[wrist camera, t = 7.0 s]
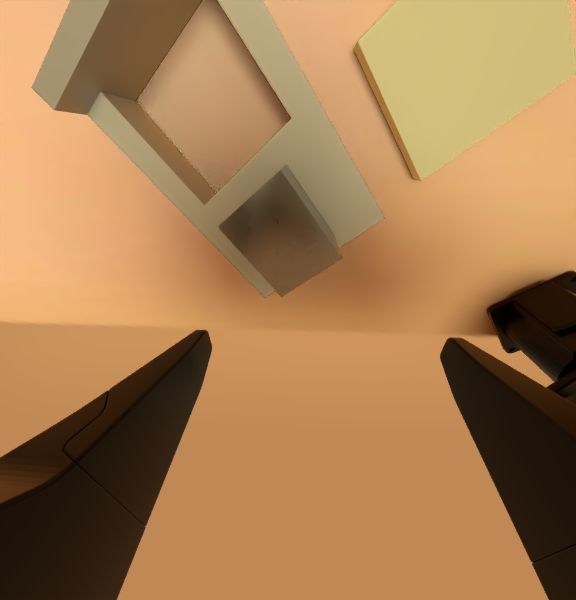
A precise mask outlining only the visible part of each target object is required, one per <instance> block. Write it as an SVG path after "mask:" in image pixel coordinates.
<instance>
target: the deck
mask: <svg viewBox="0 0 576 600" xmlns="http://www.w3.org/2000/svg"><path fill="white" fill-rule="evenodd" d="M201 1H202V0H70V2H69V5H68V7H67V9H66V11H65V14H64V16H63V18H62V21H61V23H60V25H59V27H58V30H57V32H56V34H55V36H54V39H53V41H52V43H51V45H50V48H49V50H48V52H47V54H46V57H45V59H44V61H43V63H42V66H41V68H40V70H39V72H38V75H37V77H36V79H35V81H34V84H33V86H32V89H33V90H34V91H35V92H36V93H37V94H38V95H39V96H40V97H41V98H42V99H43V100H44V101H45V102H46V103H47V104H48V105H49V106H50V107H51V108H52V109H53V110H57V111H64V112H71V113H78V114H85V115H88V116H89V117H90V118H91V119H92V120H93V121H94V122H95V123H96V124H97V126H98V127H99V128H100V129H101V130H102V131H103V132H104V133H105V134H106V135H107V136H108V137H109V138H110V139H111V140H112V141H113V142H114V143H115V144H116V145H117V146H118V147H119V148H120V149H121V150H122V151H123V152H124V153H125V154H126V155H127V156H128V157H129V158H130V159H131V161H132V162H133V163H134V164H135V165H136V166H137V167H138V168H139V169H140V170H141V171H142V172H143V173H144V174H145V175H146V176H147V177H148V178H149V179H150V180H151V181H152V182H153V183H154V184H155V185H156V186H157V187H158V188H159V189H160V190H161V191H162V192H163V193H164V195H165V196H166V197H167V198H168V199H169V200H170V201H171V202H172V203H173V204H174V205H175V206H176V207H177V208H178V209H179V210H180V211H181V212H182V213H183V214H184V215H185V216H186V217H187V218H188V219H189V220H190V221H191V222H192V223H193V224H194V225H195V226H196V227H197V229H198V230H199V231H200V232H201V233H202V234H203V235H204V236H205V237H206V238H207V239H208V240H209V241H210V242H211V243H212V244H213V245H214V246H215V247H216V248H217V249H218V250H219V251H220V252H221V253H222V254H223V255H224V256H225V257H226V258H227V259H228V260H229V261H230V262H231V264H232V265H233V266H234V267H235V268H236V269H237V270H238V271H239V272H240V273H241V274H242V275H243V276H244V277H245V278H246V279H247V280H248V281H249V282H250V283H251V284H252V285H253V286H254V287H255V288H256V289H257V290H258V291H259V292H260V293H261V294H262V295H263V296H264V298H266V297H267V296H269V295H270V294H272V293H273V292H275V291H276V290H275V289H274V288H273V287H272V286H271V285H270V284H269V283H268V282H267V281H266V280H265V278H264V277H263V276H262V275H261V274H260V273H259V272H258V271H257V270H256V269H255V268H254V266H253V265H252V264H251V263H250V262H249V261H248V260H247V259H246V258H245V257H244V256H243V254H242V253H241V252H240V251H239V250H238V249H237V248H236V247H235V246H234V245H233V244H232V242H231V241H230V240H229V239H228V238H227V237H226V236H225V235H224V234H223V233H222V232H221V230H220V229H219V228H218V226H219V225H220V224H221V223H222V222H223V221H224V220H225V219H227V218H228V217H229V216H230V215H231V214H232V213H233V212H234V211H235V210H236V209H237V208H238V207H240V206H241V205H242V204H243V203H244V202H245V201H246V200H247V199H248V198H249V197H251V196H252V195H253V194H254V193H255V192H256V191H257V190H258V189H259V188H261V187H262V186H263V185H264V184H265V183H266V182H267V181H268V180H269V179H271V178H272V177H273V176H274V175H275V174H276V173H277V172H278V171H279V170H280V169H282V168H283V167H284V166H285V165H286V164H287V165H288V167H289V168H290V170H291V171H292V173H293V174H294V176H295V177H296V179H297V180H298V181H299V183H300V184H301V186H302V187H303V189H304V190H305V192H306V193H307V195H308V196H309V198H310V199H311V201H312V202H313V204H314V205H315V206H316V208H317V209H318V211H319V212H320V214H321V215H322V217H323V218H324V220H325V221H326V223H327V224H328V226H329V227H330V229H331V230H332V231H333V233H334V235H335V238H336V241H337V244H338V247H339V248H340V247H342V246H343V245H345V244H346V243H348V242H349V241H351V240H352V239H354V238H355V237H357V236H358V235H360V234H361V233H363V232H364V231H366V230H367V229H369V228H370V227H372V226H373V225H375V224H376V223H378V222H379V221H381V220H382V219H384V218H385V217H384V215H383V214H382V212H381V210H380V208H379V206H378V205H377V203H376V201H375V199H374V198H373V196H372V194H371V192H370V190H369V189H368V187H367V185H366V183H365V182H364V180H363V178H362V176H361V174H360V173H359V171H358V169H357V167H356V166H355V164H354V162H353V160H352V158H351V157H350V155H349V153H348V151H347V150H346V148H345V146H344V144H343V142H342V141H341V139H340V137H339V135H338V134H337V132H336V130H335V128H334V126H333V125H332V123H331V121H330V119H329V118H328V116H327V114H326V112H325V110H324V109H323V107H322V105H321V103H320V102H319V100H318V98H317V96H316V94H315V93H314V91H313V89H312V87H311V86H310V84H309V82H308V80H307V78H306V77H305V75H304V73H303V71H302V70H301V68H300V66H299V64H298V62H297V61H296V59H295V57H294V55H293V54H292V52H291V50H290V48H289V46H288V45H287V43H286V41H285V39H284V38H283V36H282V34H281V32H280V30H279V29H278V27H277V25H276V23H275V22H274V20H273V18H272V16H271V14H270V13H269V11H268V9H267V7H266V6H265V4H264V2H263V0H217V1H218V3H219V4H220V6H221V8H222V9H223V11H224V12H225V14H226V16H227V17H228V19H229V20H230V22H231V24H232V25H233V27H234V28H235V30H236V32H237V33H238V35H239V36H240V38H241V39H242V41H243V43H244V44H245V46H246V47H247V49H248V51H249V52H250V54H251V55H252V57H253V59H254V60H255V62H256V63H257V65H258V67H259V68H260V70H261V71H262V73H263V75H264V76H265V78H266V79H267V81H268V83H269V84H270V86H271V87H272V89H273V90H274V92H275V94H276V95H277V97H278V98H279V100H280V102H281V103H282V105H283V106H284V108H285V110H286V111H287V113H288V114H289V116H290V118H291V119H290V120H289V121H288V122H287V123H286V124H285V125H284V126H283V127H282V128H281V129H280V130H279V131H278V132H277V133H276V134H275V135H274V136H273V137H272V138H271V139H270V140H269V141H268V142H267V143H266V144H265V145H264V146H263V147H262V148H261V149H260V150H259V151H258V152H257V153H256V154H255V155H254V156H253V157H252V158H251V159H250V160H249V161H248V162H247V163H246V164H245V165H244V166H243V167H242V168H241V169H240V170H239V171H238V172H237V173H236V174H235V175H234V176H233V177H232V178H231V179H230V180H229V181H228V182H227V183H226V184H225V185H224V186H223V187H222V188H221V189H220V190H219V191H218V192H217V193H215V192H214V191H213V190H212V188H211V187H210V186H209V185H208V184H207V183H206V182H205V180H204V179H203V178H202V177H201V176H200V175H199V174H198V172H197V171H196V170H195V169H194V168H193V167H192V165H191V164H190V163H189V162H188V161H187V160H186V159H185V157H184V156H183V155H182V154H181V153H180V152H179V150H178V149H177V148H176V147H175V146H174V145H173V144H172V142H171V141H170V140H169V139H168V138H167V137H166V135H165V134H164V133H163V132H162V131H161V130H160V129H159V127H158V126H157V125H156V124H155V123H154V122H153V121H152V119H151V118H150V117H149V116H148V115H147V114H146V112H145V111H144V110H143V109H142V108H141V107H140V106H139V104H138V103H137V102H136V99H137V98H138V96H139V95H140V93H141V92H142V90H143V89H144V87H145V86H146V84H147V83H148V81H149V80H150V78H151V77H152V75H153V74H154V72H155V71H156V69H157V68H158V66H159V65H160V63H161V62H162V60H163V58H164V57H165V55H166V54H167V52H168V51H169V49H170V48H171V46H172V45H173V43H174V42H175V40H176V39H177V37H178V36H179V34H180V33H181V31H182V30H183V28H184V27H185V25H186V24H187V22H188V21H189V19H190V18H191V16H192V14H193V13H194V11H195V10H196V8H197V7H198V5H199V4H200V2H201Z"/></svg>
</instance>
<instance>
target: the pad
mask: <svg viewBox="0 0 576 600" xmlns="http://www.w3.org/2000/svg"><path fill="white" fill-rule="evenodd" d="M354 52H355V54H356V56H357V58H358V60H359V62H360V64H361V67H362V69H363V71H364V73H365V75H366V77H367V79H368V82H369V84H370V86H371V88H372V90H373V92H374V95H375V97H376V99H377V101H378V103H379V105H380V107H381V110H382V112H383V114H384V116H385V118H386V120H387V122H388V125H389V127H390V129H391V131H392V133H393V135H394V138H395V140H396V142H397V144H398V146H399V148H400V150H401V153H402V155H403V157H404V159H405V161H406V163H407V165H408V168H409V170H410V172H411V174H412V176H413V178H414V179H416V180H419V181H422V180H423V179H425V178H426V177H427V176H429V175H430V174H432V173H433V172H435V171H436V170H438V169H439V168H440V167H442V166H443V165H445V164H446V163H448V162H449V161H451V160H452V159H454V158H455V157H456V156H458V155H459V154H461V153H462V152H464V151H465V150H467V149H468V148H469V147H471V146H472V145H474V144H475V143H477V142H478V141H480V140H481V139H483V138H484V137H485V136H487V135H488V134H490V133H491V132H493V131H494V130H496V129H497V128H498V127H500V126H501V125H503V124H504V123H506V122H507V121H509V120H510V119H512V118H513V117H514V116H516V115H517V114H519V113H520V112H522V111H523V110H525V109H526V108H527V107H529V106H530V105H532V104H533V103H535V102H536V101H538V100H539V99H541V98H542V97H543V96H545V95H546V94H548V93H549V92H551V91H552V90H554V89H555V88H556V87H558V86H559V85H561V84H562V83H564V82H565V81H567V80H568V79H570V78H571V77H572V76H574V75H575V74H576V57H575V49H574V41H573V33H572V25H571V17H570V9H569V2H568V0H398V1H397V2H396V3H395V4H394V5H393V6H392V7H391V8H390V9H389V10H388V11H387V12H386V13H385V14H384V15H383V16H382V17H381V18H380V19H379V20H378V21H377V22H376V23H375V24H374V25H373V26H372V27H371V28H370V29H369V30H368V31H367V32H366V33H365V34H364V36H363V37H362V38H361V39H360V40H359V41H358V42H357V44H356V46H355V48H354Z"/></svg>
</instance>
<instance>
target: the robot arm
mask: <svg viewBox="0 0 576 600" xmlns="http://www.w3.org/2000/svg"><path fill="white" fill-rule="evenodd" d="M487 312H488V315H489V317H490V319H491V322H492V324H493V326H494V328H495V331H496V333H497V335H498V338H499V340H500V342H501V345H502V347H503V349H504V350H505V351H506V352H507V353H514V352H517V351H519V350H522V352H523V353H524V354H525V355H526V356H528V357H529V358H530V359H531V360H532V361H533V362H534V363H535V364H536V365H537V366H538V367H539V368H540V369H541V370H542V371H543V372H544V373H546V374H547V375H548V376H549V377H550V378H551V379H552V380H553V381H554V383H552V384H551V385H549V386H548V387H544V386H542V385H541V384H539V383H537V382H535V381H534V380H532V379H530V378H529V377H527V376H525V375H524V374H522V373H520V372H518V371H517V370H515V369H513V368H512V367H510V366H508V365H507V364H505V363H503V362H502V361H500V360H498V359H496V358H495V357H493V356H491V355H490V354H488V353H486V352H484V351H483V350H481V349H480V348H478V347H476V346H475V345H473V344H471V343H469V342H468V341H466V340H464V339H462V338H452V337H451V338H448V339H447V341H446V343H445V345H444V347H443V349H442V352H441V355H440V359H441V362H442V365H443V368H444V371H445V374H446V377H447V380H448V383H449V385H450V388H451V391H452V394H453V397H454V399H455V401H456V404H457V406H458V408H459V410H460V412H461V414H462V416H463V419H464V420H465V423H466V425H467V427H468V429H469V431H470V433H471V435H472V438H473V440H474V442H475V444H476V446H477V448H478V450H479V452H480V455H481V457H482V459H483V461H484V463H485V465H486V467H487V469H488V471H489V474H490V476H491V478H492V480H493V482H494V484H495V486H496V488H497V491H498V493H499V495H500V497H501V499H502V501H503V503H504V505H505V507H506V509H507V512H508V514H509V516H510V518H511V520H512V522H513V524H514V526H515V529H516V531H517V533H518V535H519V537H520V539H521V541H522V543H523V545H524V548H525V550H526V552H527V554H528V556H529V558H530V560H531V562H533V563H532V565H533V567H534V569H535V571H536V574H537V576H538V578H539V580H540V582H541V584H542V586H543V588H544V590H545V593H546V595H547V597H548V599H549V600H576V272H569V273H567V274H565V275H562V276H560V277H558V278H556V279H553V280H551V281H549V282H546V283H544V284H542V285H540V286H537V287H535V288H533V289H530V290H528V291H526V292H524V293H521V294H519V295H517V296H514V297H512V298H510V299H508V300H505V301H503V302H501V303H498V304H496V305H494V306H492V307H490V308H489V309H488V311H487ZM211 351H212V344H211V341H210V337H209V334H208V331H206V330H196V331H194V332H193V333H191V334H190V335H188V336H187V337H185V338H184V339H182V340H181V341H179V342H178V343H176V344H175V345H173V346H172V347H171V348H169V349H168V350H166V351H165V352H163V353H162V354H160V355H159V356H157V357H156V358H154V359H153V360H152V361H150V362H149V363H147V364H146V365H144V366H143V367H141V368H140V369H138V370H137V371H135V372H134V373H132V374H131V375H130V376H128V377H127V378H125V379H124V380H122V381H121V382H119V383H118V384H117V385H115V386H113V387H112V388H111V389H110V390H109V391H106V392H105V393H103V394H102V395H100V396H99V397H97V398H96V399H94V400H93V401H91V402H90V403H88V404H87V405H85V406H84V407H82V408H81V409H79V410H78V411H76V412H74V413H73V414H71V415H69V416H68V417H66V418H65V419H63V420H61V421H60V422H58V423H57V424H55V425H53V426H52V427H50V428H49V429H47V430H45V431H43V432H42V433H40V434H38V435H37V436H35V437H33V438H32V439H30V440H29V441H27V442H25V443H24V444H22V445H20V446H19V447H17V448H15V449H14V450H12V451H10V452H9V453H7V454H5V455H4V456H2V457H1V458H0V600H117V598H118V595H119V593H120V590H121V588H122V585H123V583H124V580H125V578H126V575H127V573H128V570H129V568H130V565H131V563H132V560H133V558H134V555H135V553H136V550H137V548H138V545H139V543H140V540H141V538H142V535H143V533H144V530H145V526H146V525H147V522H148V520H149V517H150V515H151V512H152V510H153V507H154V505H155V502H156V500H157V497H158V495H159V492H160V490H161V487H162V484H163V482H164V480H165V477H166V475H167V472H168V470H169V467H170V465H171V462H172V460H173V457H174V455H175V452H176V450H177V447H178V445H179V442H180V440H181V437H182V435H183V432H184V430H185V427H186V425H187V422H188V420H189V417H190V415H191V412H192V410H193V407H194V405H195V402H196V400H197V397H198V395H199V392H200V390H201V387H202V384H203V381H204V377H205V373H206V370H207V366H208V362H209V359H210V355H211Z"/></svg>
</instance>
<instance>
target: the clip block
mask: <svg viewBox="0 0 576 600" xmlns="http://www.w3.org/2000/svg"><path fill="white" fill-rule="evenodd" d="M218 228H219V229H220V230H221V232H222V233H223V234H224V235H225V236H226V237H227V238H228V239H229V240H230V241H231V242H232V244H233V245H234V246H235V247H236V248H237V249H238V250H239V251H240V252H241V253H242V254H243V256H244V257H245V258H246V259H247V260H248V261H249V262H250V263H251V264H252V265H253V266H254V268H255V269H256V270H257V271H258V272H259V273H260V274H261V275H262V276H263V277H264V278H265V280H266V281H267V282H268V283H269V284H270V285H271V286H272V287H273V288H274V289H275V290H276V292H277V293H278V294H279V295H280V296H281V297H282V296H284V295H285V294H287V293H288V292H290V291H291V290H293V289H295V288H296V287H298V286H299V285H301V284H302V283H304V282H305V281H307V280H309V279H310V278H312V277H313V276H315V275H316V274H318V273H320V272H321V271H323V270H324V269H326V268H327V267H329V266H330V265H332V264H334V263H335V262H337V261H338V260H340V259H341V258H342V256H341V253H340V250H339V247H338V244H337V241H336V238H335V235H334V233H333V231H332V230H331V229H330V227H329V226H328V224H327V223H326V221H325V220H324V218H323V217H322V215H321V214H320V212H319V211H318V209H317V208H316V206H315V205H314V204H313V202H312V201H311V199H310V198H309V196H308V195H307V193H306V192H305V190H304V189H303V187H302V186H301V184H300V183H299V181H298V180H297V179H296V177H295V176H294V174H293V173H292V171H291V170H290V168H289V167H288V165H287V164H286V165H285V166H284V167H283V168H282V169H280V170H279V171H278V172H277V173H276V174H275V175H274V176H273V177H272V178H271V179H269V180H268V181H267V182H266V183H265V184H264V185H263V186H262V187H261V188H259V189H258V190H257V191H256V192H255V193H254V194H253V195H252V196H251V197H249V198H248V199H247V200H246V201H245V202H244V203H243V204H242V205H241V206H240V207H238V208H237V209H236V210H235V211H234V212H233V213H232V214H231V215H230V216H229V217H228V218H227V219H225V220H224V221H223V222H222V223H221V224H220V225H219V226H218Z"/></svg>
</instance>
